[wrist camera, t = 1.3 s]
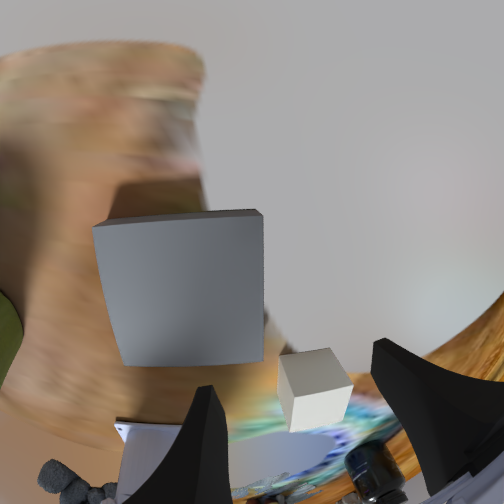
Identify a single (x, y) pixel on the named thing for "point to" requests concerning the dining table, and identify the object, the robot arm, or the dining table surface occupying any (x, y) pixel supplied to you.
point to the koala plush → (72, 485)
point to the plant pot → (8, 335)
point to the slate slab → (184, 287)
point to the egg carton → (350, 499)
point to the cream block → (312, 389)
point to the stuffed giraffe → (277, 501)
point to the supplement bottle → (376, 474)
